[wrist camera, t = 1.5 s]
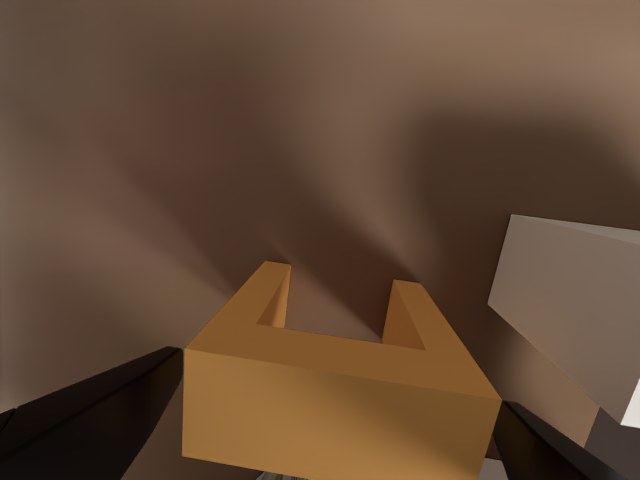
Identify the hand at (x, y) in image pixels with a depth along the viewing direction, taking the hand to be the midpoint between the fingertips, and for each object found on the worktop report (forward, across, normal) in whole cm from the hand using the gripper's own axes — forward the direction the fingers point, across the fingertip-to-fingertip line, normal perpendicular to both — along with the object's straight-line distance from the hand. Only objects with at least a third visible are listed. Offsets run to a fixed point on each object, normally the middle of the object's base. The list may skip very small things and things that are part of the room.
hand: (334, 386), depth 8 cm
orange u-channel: (+5, 0, 0) cm, 5 cm away
